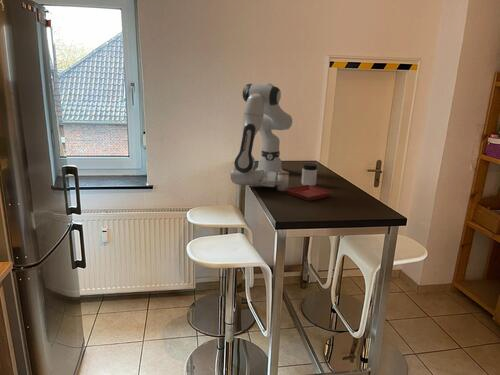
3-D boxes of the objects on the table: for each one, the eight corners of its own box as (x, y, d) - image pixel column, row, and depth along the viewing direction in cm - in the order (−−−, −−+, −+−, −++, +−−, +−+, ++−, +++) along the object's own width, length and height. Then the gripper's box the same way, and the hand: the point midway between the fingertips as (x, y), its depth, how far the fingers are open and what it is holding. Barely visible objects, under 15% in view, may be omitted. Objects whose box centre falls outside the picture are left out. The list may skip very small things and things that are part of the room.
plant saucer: (284, 194, 211) (284, 188, 210) (307, 189, 222) (308, 184, 221) (308, 203, 197) (308, 196, 197) (332, 197, 208) (332, 191, 207)
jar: (307, 186, 227) (309, 166, 223) (298, 183, 233) (299, 163, 230) (318, 185, 232) (320, 165, 228) (309, 181, 238) (311, 162, 235)
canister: (276, 187, 222) (277, 170, 219) (288, 188, 221) (289, 171, 219) (276, 190, 216) (277, 173, 213) (288, 191, 215) (289, 173, 213)
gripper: (258, 177, 208) (284, 179, 206) (261, 169, 227) (285, 170, 226) (257, 188, 209) (283, 190, 208) (260, 179, 229) (284, 181, 228)
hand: (284, 180), depth 217 cm, fingers open, 8 cm apart
